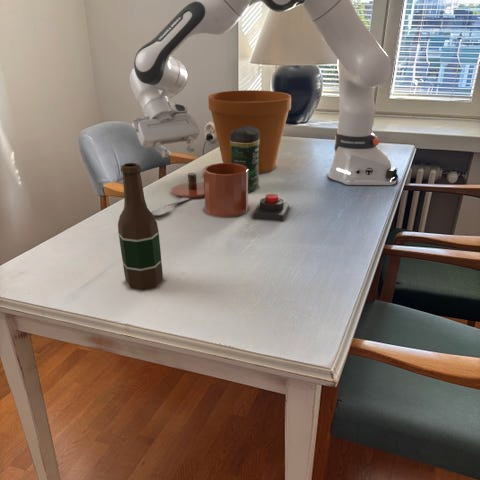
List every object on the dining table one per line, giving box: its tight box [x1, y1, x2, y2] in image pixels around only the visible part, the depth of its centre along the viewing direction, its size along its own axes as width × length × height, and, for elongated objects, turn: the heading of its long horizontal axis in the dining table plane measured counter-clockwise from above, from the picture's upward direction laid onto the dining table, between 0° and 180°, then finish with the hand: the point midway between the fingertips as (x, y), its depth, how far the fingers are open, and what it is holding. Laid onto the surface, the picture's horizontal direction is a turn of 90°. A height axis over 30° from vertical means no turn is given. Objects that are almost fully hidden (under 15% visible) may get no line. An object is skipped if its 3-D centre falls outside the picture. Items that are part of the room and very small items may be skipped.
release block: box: [253, 197, 290, 222], centre depth 134 cm, size 11×8×4 cm
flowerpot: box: [207, 89, 292, 174], centre depth 169 cm, size 28×28×24 cm
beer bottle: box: [117, 162, 164, 291], centre depth 94 cm, size 8×8×24 cm
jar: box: [202, 162, 249, 218], centre depth 134 cm, size 12×12×12 cm
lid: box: [171, 172, 204, 198], centre depth 149 cm, size 13×13×6 cm
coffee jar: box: [230, 126, 260, 193], centre depth 148 cm, size 10×8×19 cm
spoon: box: [150, 197, 191, 217], centre depth 138 cm, size 4×21×2 cm, turn 155°
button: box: [265, 193, 280, 204], centre depth 133 cm, size 4×4×2 cm
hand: (179, 153), depth 149 cm, fingers open, 8 cm apart
